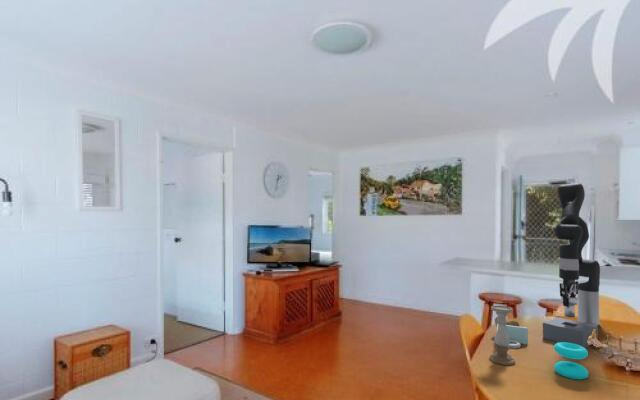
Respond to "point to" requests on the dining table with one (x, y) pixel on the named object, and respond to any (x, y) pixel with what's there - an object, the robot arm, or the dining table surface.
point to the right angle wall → (516, 336)
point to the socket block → (568, 331)
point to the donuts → (569, 367)
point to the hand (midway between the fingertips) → (569, 305)
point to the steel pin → (570, 307)
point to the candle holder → (502, 337)
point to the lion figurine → (509, 322)
